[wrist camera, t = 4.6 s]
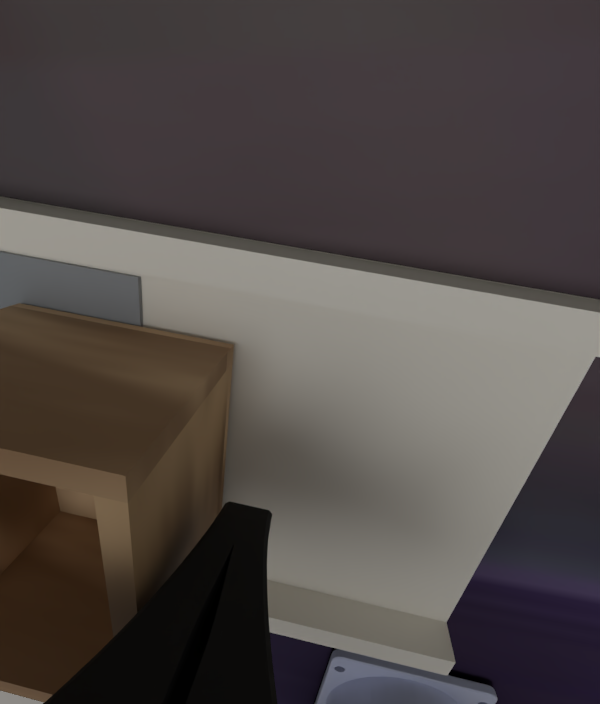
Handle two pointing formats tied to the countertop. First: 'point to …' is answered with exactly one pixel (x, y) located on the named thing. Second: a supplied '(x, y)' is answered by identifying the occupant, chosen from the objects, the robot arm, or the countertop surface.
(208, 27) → the countertop surface
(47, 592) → the crate
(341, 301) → the tray
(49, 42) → the countertop surface
